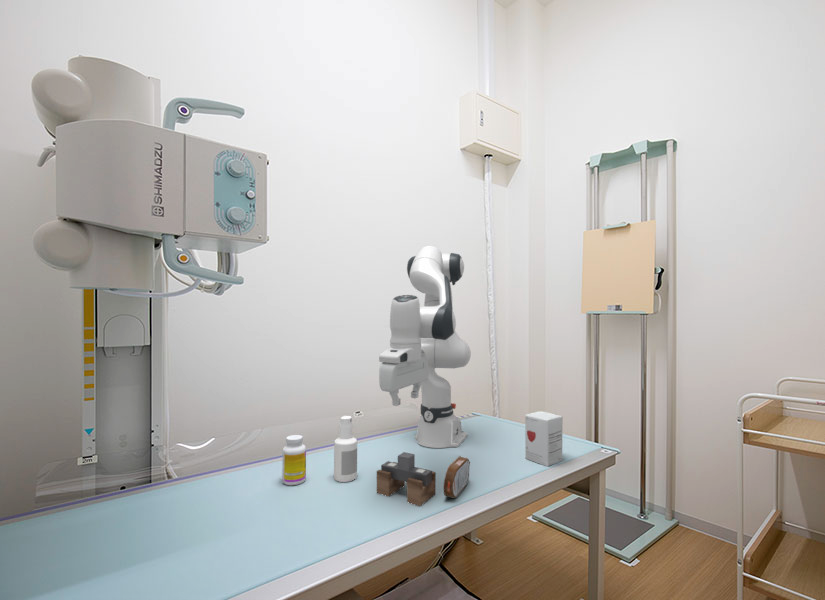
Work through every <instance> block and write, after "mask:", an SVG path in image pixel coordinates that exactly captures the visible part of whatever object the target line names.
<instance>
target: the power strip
mask: <svg viewBox="0 0 825 600" xmlns="http://www.w3.org/2000/svg"><path fill="white" fill-rule="evenodd" d="M415 455H416V454H415V453H410V452H405V451H403V452H402V453H400V454H398V455H397V462H396V463H394V462H395V461H389V460H388V461H386V462H384V463H383V464H381V467H380V468H381V469H380V470H383V471H387V472H390V473H391V479H395V480H400V481H404V482H405V483H407V479H408V478H413V479H416V480H420V481H423V486H425V487H426V486H428V485H429V484H430V483H431V482H432V472H433V470H432V469H431V470H430V469H425V468H421V467H418V466H417V467H416V466H415V463H416V461H415V460H416V459H415Z"/></svg>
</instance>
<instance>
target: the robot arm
mask: <svg viewBox="0 0 825 600" xmlns="http://www.w3.org/2000/svg"><path fill="white" fill-rule="evenodd" d="M406 265H407V266H406V272H407V276H408V278H409V281H410V284H411V285H412V287H413V288H414V289H415V290H417V291H418V292H420V293H422V294H424V304H423V305H424V306H421V305H420V299H419V297H418V296H417V295H412V294H404V295H403V294H402V295H398V296H394V297H393V298H392V301H391V305H390V315H389V317H390V318H389V328H390V332H391V335H390V336H391V337H390V340H389V346H388V347H386V349H385V350H384V351H382V352H381V353H380V354H379V355H378V359H379V360H378V361H379V362H380V363H381V364H380V365H379V370H378V372H379V373H378V374H379V375H378V376H379V377H378V378H379V379H378V381H379V382H378V383H379V389H380V390H381V391H382V392H387V393H389V395H390V397H391V400H392V401H391V402H392V403H391V404H392V406H395V407H398V406H400V405H401V404H402V403H401V399H402V398H400V397H399V391H400V390H401V389H404V388H407V387H411V386H412V391H410V397H411V399H418V398H419V392H421V404H420V409H419V410H420V415H419V417H418V419H417V421H418V422H417V430H416V432H417V433H416V434H415V435H414V439H415V440H417V441H416V442H417V444H419V445H421V446H422V447H426V448H432V449H434V448H435V449H445V448H458V447H460V446H461V444H462V443H463V442H464V441H465V440H466V439H467V437H468V433H467V432H466V431H463V428H462V427H463V426H462V421H461V420H460V419H459V418H458V417H457V416H455V414H454V410H455V409H456V407H457V405H456V403H453V402H452V399H451V398H452V386H451V384H450V382H449V381H448V380H447V379H446V378H444V377H442V376H440V375H439V374H438V373H437V372H436V369H457V368H464V367H466V366H467V365H468V364H469V362H470V360H471V356H472V355H471V354H472V353H471V349H470V346H469V344H468V343H467V342H466V341H465V340H464V339H462V338H461V337H460V335H458V333H457V331H456V326H457V322H456V316H455V312H454V310H453V293H452V291H453V290H452V286H455V285H456V283H457V282H458V281H460V280H461V278H462V277H463V273H464V271H465V264H464V260H463V257H462V255H460V254H458V253H454V252H451V253H445V252H442V251H441V250H440V249H439V248H438V247H436V246H435V245H434V246H433V245H426V246H423V247H421V248H420V249H419V250H418V252H417V253H416V255H414V256H411V257H410V258H409V259H408V261H407V264H406ZM420 389H421V390H420Z"/></svg>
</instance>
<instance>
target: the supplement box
mask: <svg viewBox="0 0 825 600" xmlns="http://www.w3.org/2000/svg"><path fill="white" fill-rule="evenodd" d="M524 419H525V430H524V432H525V434H524V435H525V443H524V444H525V447H524V448H525V449H524V451H525V453H524V454H525V455H524V456H525V457H524V459H525V460H528V461H532V462H534V463H537V464H539V465H542V466H545V467H550V466H552V465H554V464H557V463H559V462H562V461H563V416H562V415H558V414H554V413H551V412H547V411H542V410H539V411H535V412H531V413H527V414H525V416H524Z"/></svg>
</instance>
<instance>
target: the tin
mask: <svg viewBox="0 0 825 600" xmlns="http://www.w3.org/2000/svg"><path fill="white" fill-rule="evenodd" d="M470 463H471V462H470V459H469V458H467V457H463V456H458V457H457V458H455V460H453V462H452V463H450V465H448V467H447V470H446V472H445V475H444V479H443V494H444V496H445V497H448V498H451V499H455V498H457V497H458V496H459V495H460V494H461V493H462V491H463V490H464V489H465V488H466V486H467V484H468V481H469V478H470Z"/></svg>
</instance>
